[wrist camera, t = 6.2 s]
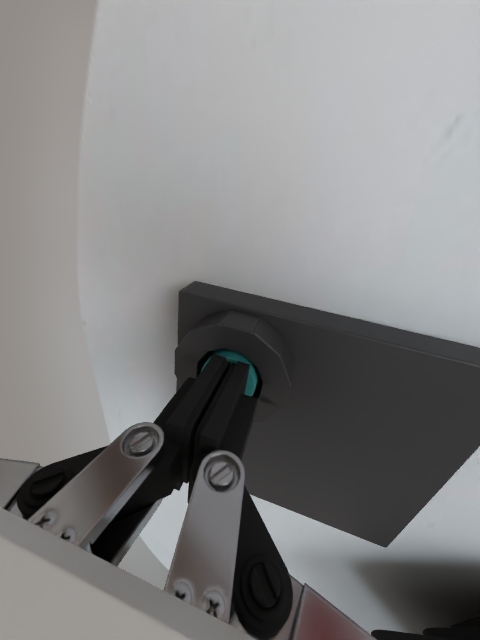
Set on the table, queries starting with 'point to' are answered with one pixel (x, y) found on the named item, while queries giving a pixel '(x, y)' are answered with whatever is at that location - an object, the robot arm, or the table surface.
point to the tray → (435, 633)
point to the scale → (339, 407)
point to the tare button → (234, 358)
